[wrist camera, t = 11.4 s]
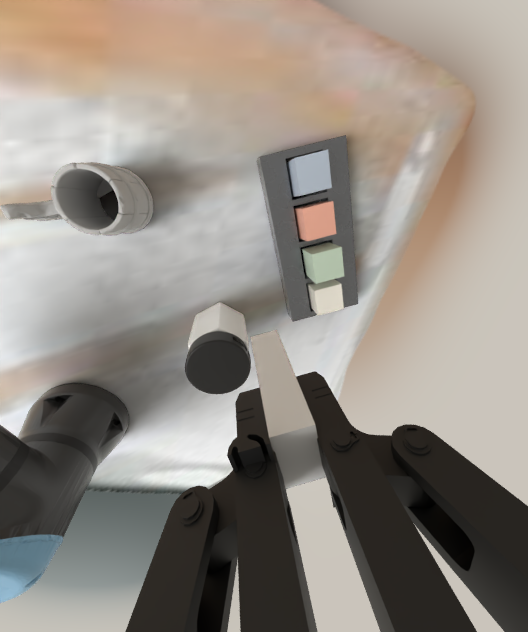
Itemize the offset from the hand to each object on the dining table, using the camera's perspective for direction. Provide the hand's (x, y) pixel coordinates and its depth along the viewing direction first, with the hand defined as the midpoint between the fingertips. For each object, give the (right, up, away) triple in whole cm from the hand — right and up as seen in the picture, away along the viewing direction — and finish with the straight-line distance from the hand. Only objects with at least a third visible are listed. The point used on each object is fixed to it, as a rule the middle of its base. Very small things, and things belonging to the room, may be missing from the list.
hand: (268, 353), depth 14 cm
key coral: (+6, +16, +22) cm, 28 cm away
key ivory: (+9, +6, +26) cm, 28 cm away
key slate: (+5, +21, +19) cm, 29 cm away
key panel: (+7, +14, +24) cm, 29 cm away
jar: (-8, 0, +28) cm, 29 cm away
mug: (-21, +17, +19) cm, 33 cm away
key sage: (+8, +11, +23) cm, 26 cm away
